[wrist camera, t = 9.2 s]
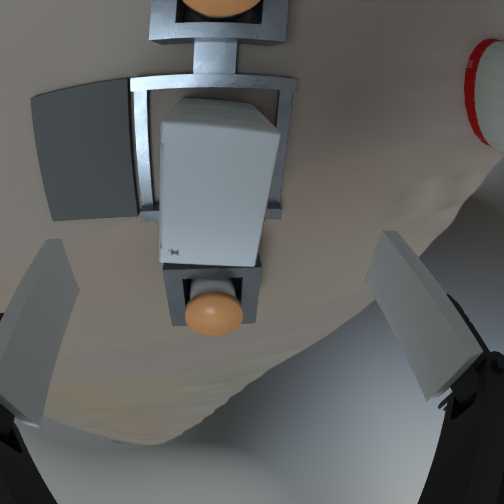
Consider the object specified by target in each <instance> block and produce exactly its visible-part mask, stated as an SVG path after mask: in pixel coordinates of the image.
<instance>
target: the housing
mask: <svg viewBox="0 0 504 504" xmlns="http://www.w3.org/2000/svg"><path fill="white" fill-rule="evenodd" d="M184 4H185V3H184V2H183V0H152V2H151V15H150V32H149V40H150V41H153V42H156V43H159V44H161V45H165V44H182V43H195V46H194V66H193V73H192V74H168V75H154V76H143V77H135V78H130V88H131V91H134V114H135V135H136V150H137V162H138V173H139V183H140V193H141V201H142V208H141V210H140V216H141V222H153V221H159V206H160V202H154V195H153V184H152V171H151V157H150V139H149V113H148V90H151V89H165V88H186V87H236V88H257V89H272V90H278V99H277V109H276V120H275V127H276V128H277V129H278V130H279V131H280V132H281V134H282V137H281V140H280V145H279V150H278V155H277V161H276V166H275V171H274V176H273V180H272V185H271V191H270V196H269V201H268V206H267V211H266V216H265V219H281V214H282V208H281V206H280V197H281V189H282V181H283V173H284V165H285V156H286V148H287V139H288V131H289V122H290V113H291V104H292V95H293V92H297V83H298V79H294V78H288V77H278V76H266V75H252V74H235V67H236V53H237V44H253V45H265V46H271V45H275V44H279V43H283V42H285V39H286V28H287V17H288V5H289V0H260V1H259V2H258V3H257V4H256V5H255V6H254V7H253V8H252V19H251V24H247V23H227V22H190V23H183V17H184ZM261 270H262V266H261V262H260V258H259V254H258V256H257V260H256V265H255V266H254V267H250V266H222V265H201V264H179V263H164V265H163V275H164V281H165V287H166V293H167V299H168V305H169V310H170V316H171V321H172V326H188V325H187V324H186V321H185V308H186V305H187V303H188V302H189V300H190V287H191V283H188V279H201V278H235V282H234V288H235V295H236V298H237V299H238V300H239V302H240V303H241V306H242V311H243V320H242V323H241V324H245V323H255V321H256V312H257V304H258V296H259V287H260V279H261Z"/></svg>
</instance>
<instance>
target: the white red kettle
mask: <svg viewBox="0 0 504 504" xmlns="http://www.w3.org/2000/svg"><path fill="white" fill-rule="evenodd" d="M464 93H465V106H466V110H467V114H468V119H469V122H470V124H471V126H472V128H473V131H474V133H475V134H476V135H477V137H478V138H479V139H480V140H481V141H482V142H483V143H485V144H486V145H488V146H490V147H492V148H494V149H496V150H497V151H499V152H501V153H504V41H501V40H496V39H489V40H484V41H482V42H481V43H479V44H478V45H477V46H476V47H475V49H474V50H473V52H472V54H471V55H470V58H469V61H468V65H467V68H466V73H465V84H464Z"/></svg>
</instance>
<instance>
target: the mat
mask: <svg viewBox="0 0 504 504" xmlns="http://www.w3.org/2000/svg"><path fill="white" fill-rule="evenodd" d="M31 110H32V119H33V127H34V135H35V142H36V148H37V154H38V160H39V165H40V170H41V175H42V180H43V184H44V189H45V193H46V197H47V201H48V205H49V209H50V213H51V216H52V220H53V221H64V220H79V219H95V218H113V217H134V216H138V215H139V207H138V200H137V191H136V182H135V173H134V162H133V151H132V137H131V119H130V89H129V78H125V79H117V80H110V81H104V82H98V83H92V84H87V85H81V86H77V87H72V88H67V89H63V90H58V91H54V92H50V93H46V94H43V95H39V96H35V97H32V98H31Z"/></svg>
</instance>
